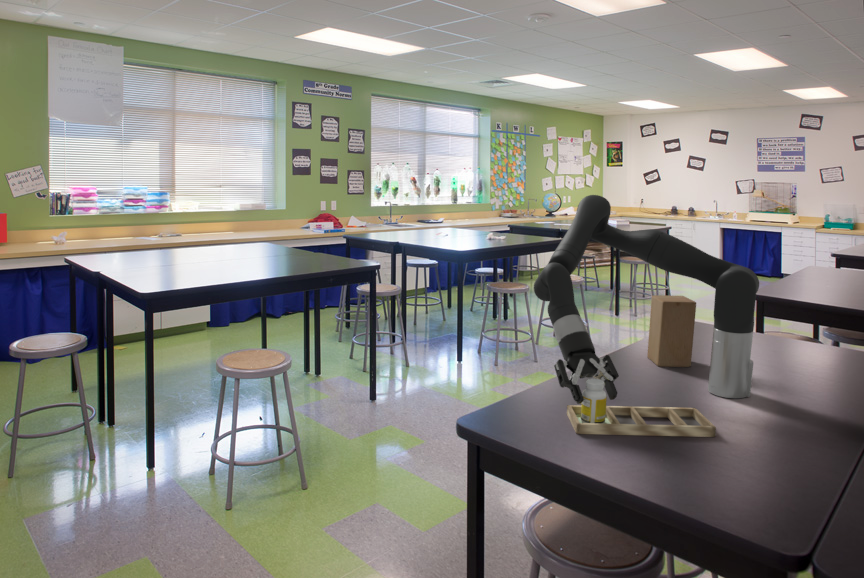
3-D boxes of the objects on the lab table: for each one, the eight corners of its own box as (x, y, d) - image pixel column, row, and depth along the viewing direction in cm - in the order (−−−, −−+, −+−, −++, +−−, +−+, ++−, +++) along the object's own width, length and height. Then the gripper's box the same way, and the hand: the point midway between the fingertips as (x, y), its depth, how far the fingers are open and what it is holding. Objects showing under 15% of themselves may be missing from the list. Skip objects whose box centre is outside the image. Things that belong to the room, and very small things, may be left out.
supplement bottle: (605, 419, 142) (608, 379, 140) (604, 428, 137) (607, 387, 135) (581, 415, 144) (584, 376, 142) (579, 425, 139) (581, 383, 137)
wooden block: (691, 367, 183) (697, 301, 180) (657, 367, 184) (662, 301, 180) (678, 357, 193) (683, 295, 190) (646, 357, 193) (651, 295, 190)
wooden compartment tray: (694, 416, 145) (695, 407, 145) (715, 437, 134) (716, 427, 133) (566, 413, 146) (567, 405, 146) (576, 433, 135) (576, 424, 134)
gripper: (592, 343, 152) (616, 404, 143) (540, 348, 147) (562, 410, 139) (605, 327, 146) (632, 389, 137) (552, 332, 141) (576, 396, 133)
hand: (597, 400), depth 138 cm, fingers open, 8 cm apart
